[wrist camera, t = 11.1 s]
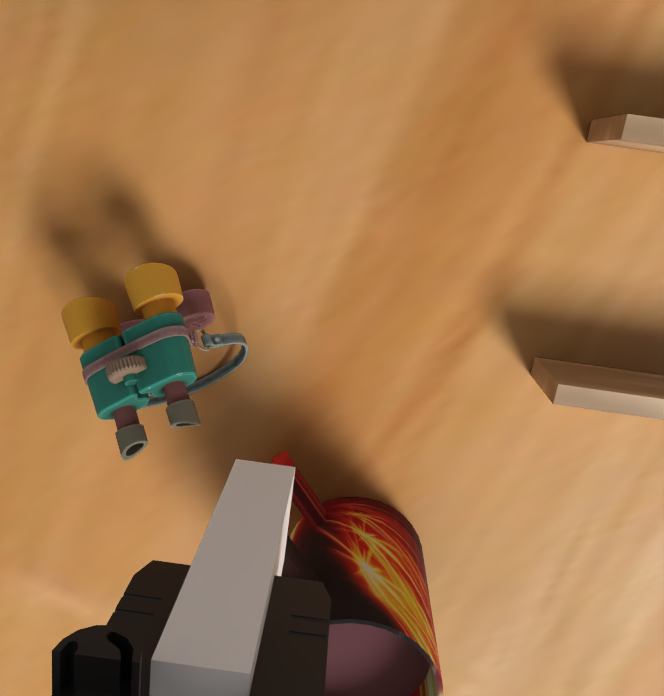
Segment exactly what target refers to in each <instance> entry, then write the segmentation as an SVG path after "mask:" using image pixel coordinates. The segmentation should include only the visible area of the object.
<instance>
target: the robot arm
mask: <svg viewBox="0 0 664 696" xmlns="http://www.w3.org/2000/svg"><path fill="white" fill-rule="evenodd" d="M294 475H295V467H291V466H284V465H276V464H269V463H262V462H254V461H247V460H240V459H236V460H235V463H234V465H233V467H232V470H231V472H230V474H229V477H228V479H227V482H226V484H225V486H224V489H223V491H222V493H221V496H220V498H219V500H218V503H217V505H216V508H215V510H214V512H213V515H212V517H211V519H210V522H209V524H208V526H207V529H206V531H205V534H204V536H203V538H202V541H201V543H200V545H199V548H198V550H197V552H196V555H195V557H194V560H193V562H192V564H191V565H183V564H176V563H169V562H162V561H154V560H153V561H151V562H150V563H149V564H147V565H146V566H145V567H144V568H142V569H141V570H140V571H138V572H137V573H136V574H135V575H134V576H133V578H132V580H131V581H130V583H129V585H128V587H127V589H126V591H125V592H124V596H123V597H122V598H121V600H120V601H119V603H118V605H117V607H116V610H115V613H114V612H113V614H112V616H111V618H110V620H109V621H108V623H107V625H95V626H92V627H88V628H84V629H80V630H78V631H76V632H74V633H72V634H71V635H69V636H67V637H65V638H64V639H62V641H61V642H60V643H59V644H58V645H57V646H56V647H55V648H54V649H53V650H52V696H324V694H325V680H326V666H327V652H328V637H329V622H330V610H331V599H330V597H329V595H328V593H327V591H326V588H325V586H324V584H323V582H319V581H312V580H305V579H297V578H290V577H283V576H281V574H282V569H283V564H284V557H285V549H286V541H287V533H288V525H289V516H290V508H291V500H292V492H293V483H294Z"/></svg>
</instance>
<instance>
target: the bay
mask: <svg viewBox="0 0 664 696" xmlns="http://www.w3.org/2000/svg"><path fill="white" fill-rule="evenodd" d="M587 142H589V143H596V144H603V145H610V146H618V147H625V148H632V149H639V150H646V151H653V152H660V153H664V119H662V118H654V117H647V116H640V115H633V114H623V115H618V116H612V117H606V118H600V119H595V120H592V121H591V126H590V130H589V134H588V138H587ZM530 375H531V376H532V377H533V379H534V380H535V381H536V383H537V384H538V385H539V386H540V388H541V389H542V390H543V392H544V393H545V394H546V395H547V397H548V398H549V399H550V401H551V402H552V403H553V404H556V405H563V406H570V407H577V408H584V409H591V410H598V411H605V412H612V413H619V414H626V415H633V416H640V417H647V418H654V419H661V420H664V375H657V374H650V373H643V372H636V371H629V370H622V369H615V368H608V367H601V366H594V365H587V364H580V363H573V362H566V361H559V360H552V359H545V358H538V357H535V358H534V362H533V366H532V370H531V374H530Z"/></svg>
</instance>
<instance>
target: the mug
mask: <svg viewBox="0 0 664 696" xmlns="http://www.w3.org/2000/svg"><path fill="white" fill-rule="evenodd" d="M272 464H276V465H284V466H291V467H295V475H294V483H293V492H292V500H293V502H294V503H295V504H296V506H297V507H298V509H299V510H300V511H301V513H302V514H303V517H302V518H301V519H300V520H299V522H298V523H297V524H296V526H295V528H294V529H293V531H292V533H291V535H290V537H289V536H288V534H287V541H286V549H285V557H284V564H283V569H282V574H281V576H283V577H290V578H297V579H305V580H312V581H319V582H323V584H324V586H325V588H326V591H327V593H328V595H329V597H330V599H331V610H330V622H329V637H328V652H327V666H326V680H325V694H324V696H443V684H442V677H441V671H440V664H439V658H438V651H437V644H436V638H435V631H434V625H433V618H432V611H431V605H430V598H429V592H428V585H427V578H426V572H425V565H424V559H423V552H422V546H421V543H420V540H419V537H418V534H417V533H416V531H415V529H414V528H413V526H412V524H411V523H410V522H409V521H408V520H407V519H406V518H405V517H404V516H403V515H402V514H401V513H399V512H398V511H397V510H395V509H394V508H393V507H391V506H388V505H386V504H384V503H382V502H380V501H376V500H373V499H369V498H362V497H344V498H338V499H334V500H330V501H327V502H325V503H321V502H320V500H319V499H318V498H317V496H316V495H315V493H314V492H313V490H312V489H311V488H310V486H309V485H308V483H307V482H306V480H305V479H304V478H303V476H302V475H301V473H300V472H299V470H298V469H297V468H296V466H295V465H294V463H293V461H292V460H291V458H290V457H289V455H288V453H287V452H286V451H285V452H283V453H281V454H279V455H277V456H275V457H273V460H272Z"/></svg>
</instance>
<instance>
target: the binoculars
mask: <svg viewBox="0 0 664 696" xmlns="http://www.w3.org/2000/svg"><path fill="white" fill-rule="evenodd" d="M124 285H125V288H126V291H127V294H128V296H129V299H130V302H131V304H132V307H133V310H134V312H135V314H136V315H137V316H140V317H144V319H137V320H131V321H126V322H123V323H120V324H119V320H118V315H117V310H116V307H115V305H114V304H113V303H112V302H110V301H108V300H106V299H103V298H99V297H83V298H79V299H76V300H73V301H71V302H70V303H68V304H67V305H66V306H65V307H64V308H63V310H62V319H63V322H64V325H65V328H66V331H67V334H68V337H69V340H70V343H71V346H72V347H74V348H76V349H83V350H84V353H83V355H82V356H81V357H80V361H81V365H82V368H83V372H82V373H83V377H84V380H85V383H86V385H88V387H89V390H90V393H91V396H92V399H93V403H94V406H95V409H96V412H97V415H98V418H100V419H103V420H107V419H115V422H116V426H117V430H118V431H117V432H116V433H115V434H116V438H117V442H118V446H119V449H120V453H121V457H122V459H123V460H124V461H127V460H129V459H131V458H133V457H134V456H136V455H137V454H138V453H140V452H141V451H142V450H143V449H144V448H145V447H146V446H147V445H148V440H147V437H146V433H145V430H144V426H143V425H141V424H140V423H139V420H138V416H137V413H136V411H137V410H138V409H140V408H146V407H151V406H156V405H160V404H164V403H167V404H168V407H167V408H166V412H167V415H168V418H169V422H170V425H171V427H172V428H183V427H189V426H200V425H201V423H200V420H199V417H198V414H197V410H196V407H195V404H194V401H193V400H190V398H189V394H192V393H194V392H197V391H199V390H201V389H203V388H205V387H207V386H209V385H211V384H213V383H215V382H217V381H219V380H220V379H222V378H224V377H225V376H227V375H228V374H230V373H231V372H233V371H234V370H236V369H237V368H238V367H239V366H240V365H241V364H242V363H243V362H244V361H245V359H246V357H247V355H248V346H247V344H246V341H245V338H244V336H243V335H242V334H239V333H227V334H222V335H220V334H216V335H210V334H206V333H205V331H204V330H203V328H205V327H207V326H208V325H210V324H211V323H212V322H213V321H214V319H215V315H214V310H213V306H212V302H211V297H210V293H209V292H208V291H207V290H204V289H192V290H187V291H183V292H182V290H181V286H180V282H179V278H178V274H177V272H176V271H175V270H174V269H173V268H172V267H170V266H168V265H166V264H162V263H146V264H142V265H139V266H137V267H134V268H133V269H131V270H130V271H129V272H128V273H127V274H126V276H125V278H124ZM199 331H201V332H202V333H203V335H202V336H201V339H202V342H203V345H204V348H202V347H200V346H199V345H198V344H199V340H198V336H197V334H196V333H195V332H199ZM189 333H190V334H189ZM189 342H190V344H189ZM229 344H242V347H241V350H240V352H239V353H238V355H237V356H236V357H234V358H233V359H232V360H231V361H230V362H228V363H227V364H225V365H224V366H223V367H221V368H219V369H218V370H216V371H214V372H213V373H211V374H209V375H207V376H205V377H203V378H201V379H199V380H197V381H195V380H196V378H197V375H196V370H195V366H194V362H193V357H192V353H191V349H190V345H192V346H196V348H198V349H199V350H202V351H210V348H216V347H220V346H224V345H229ZM206 348H207V349H206ZM194 381H195V382H194ZM148 393H150V394H151V395H152V396H150V397H149V395H148Z"/></svg>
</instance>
